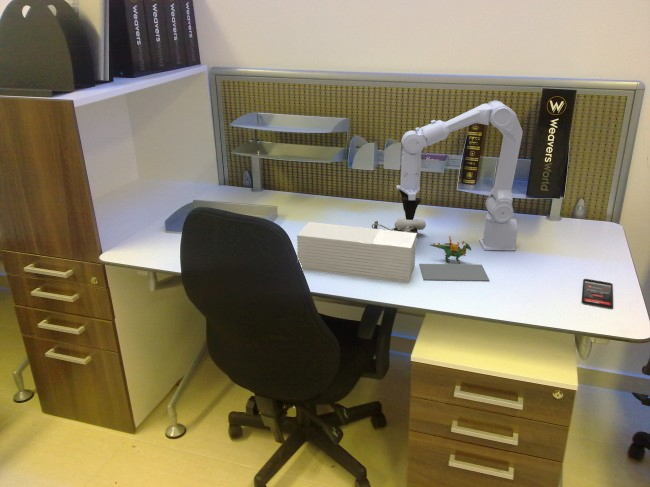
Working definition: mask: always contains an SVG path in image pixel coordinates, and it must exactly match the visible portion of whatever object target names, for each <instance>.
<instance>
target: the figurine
mask: <svg viewBox="0 0 650 487" xmlns="http://www.w3.org/2000/svg"><path fill="white" fill-rule="evenodd" d="M451 237H452V236H451V235H449V236H448V238H449V242H443V243H442V244H441V243H440V242H437V243H434V242H433V243H432V244H431V243H430V244H429V246H431V247H433V248H437V249H440V250H444V253H445V257H444V258H445V263H446V264H451V263H450V261H451V259H450V258H451V257H454V258H455V261H456V262H457V264H461V260H459V258H460V257H462V256H465V257H467V254H468V253H467V250H469V251H472V247H471V246H470V242H465V241H464V240H463V241H461V244H462V245H463V247H462V248H461V247H460V242H459V241H457V243H453V242H452V239H451Z"/></svg>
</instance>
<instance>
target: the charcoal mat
mask: <svg viewBox="0 0 650 487" xmlns="http://www.w3.org/2000/svg"><path fill="white" fill-rule="evenodd" d="M419 269H420V273H421V276H422V280H423V281H433V282H434V281H437V282H438V281H441V282H442V281H443V282H444V281H445V282H446V281H448V282H449V281H450V282H451V281H452V282H490V280H491V279H490V278H489V276H488V274H487V272H486V271H485V268H484V266H483V264H476V263H475V264H474V263H473V264H470V263H469V264H465V263H462V264H461V263H460V264H459V263H457V264H455V263H419Z"/></svg>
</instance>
